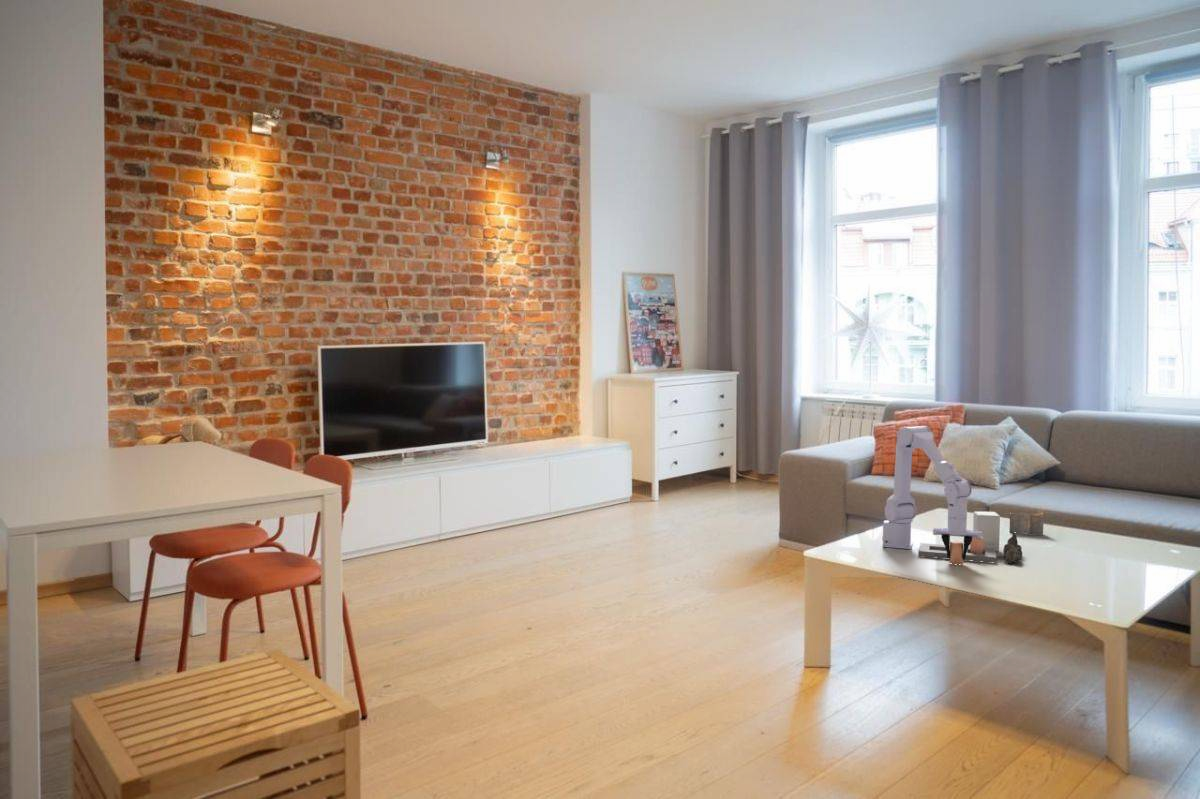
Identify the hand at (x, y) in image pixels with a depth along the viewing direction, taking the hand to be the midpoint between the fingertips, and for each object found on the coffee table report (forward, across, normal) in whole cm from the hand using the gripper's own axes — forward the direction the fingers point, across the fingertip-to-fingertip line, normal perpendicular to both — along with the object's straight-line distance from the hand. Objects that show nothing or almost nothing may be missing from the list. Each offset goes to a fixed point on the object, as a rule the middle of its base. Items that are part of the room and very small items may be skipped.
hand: (956, 558), depth 290 cm
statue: (+2, +17, +15) cm, 23 cm away
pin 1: (+2, 0, 0) cm, 2 cm away
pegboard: (+2, 0, +11) cm, 11 cm away
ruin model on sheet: (+3, +23, +56) cm, 61 cm away
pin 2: (+2, +6, +11) cm, 13 cm away
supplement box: (+2, +9, +25) cm, 27 cm away
